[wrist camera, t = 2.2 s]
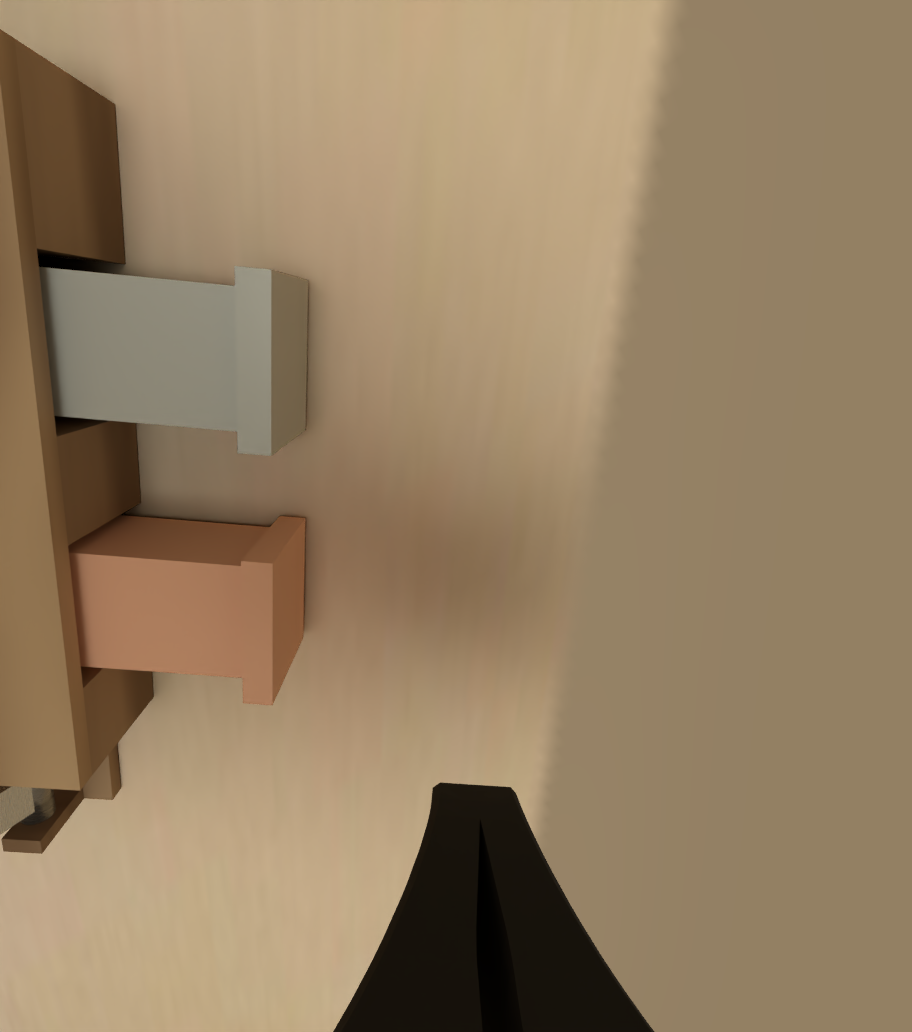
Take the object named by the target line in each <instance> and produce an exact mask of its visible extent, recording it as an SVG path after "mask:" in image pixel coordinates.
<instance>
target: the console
mask: <svg viewBox="0 0 912 1032" xmlns="http://www.w3.org/2000/svg"><path fill="white" fill-rule="evenodd" d="M38 256H48V257H58V258H68V259H78V260H89V261H99V262H109V263H119V264H125V253H124V238H123V223H122V208H121V192H120V177H119V162H118V147H117V131H116V116H115V104H114V103H112V102H111V101H109V100H108V99H106V98H105V97H103V96H101V95H100V94H98V93H97V92H95V91H94V90H92V89H91V88H89V87H88V86H86V85H85V84H83V83H82V82H80V81H79V80H77V79H75V78H74V77H72V76H71V75H69V74H68V73H66V72H65V71H63V70H62V69H60V68H59V67H57V66H56V65H54V64H53V63H51V62H50V61H48V60H46V59H45V58H43V57H42V56H40V55H39V54H37V53H36V52H34V51H33V50H31V49H30V48H28V47H27V46H25V45H24V44H22V43H20V42H19V41H17V40H16V39H14V38H13V37H11V36H10V35H8V34H7V33H5V32H4V31H2V30H1V29H0V786H14V787H30V788H46V789H53V790H54V797H55V805H56V810H55V813H54V814H53V815H52V816H51V817H50V818H49V819H47V820H46V821H44V822H42V823H39V824H35V825H24V824H22V823H21V822H18V823H17V824H15V825H14V826H12V827H11V829H10V830H9V831H8V832H7V833H6V834H5V836H4V837H3V838H2V845H3V851H7V852H24V853H41V854H42V853H43V852H44V850H45V849H46V848H47V846H48V845H49V844H50V842H51V841H52V840H53V838H54V837H55V836H56V834H57V833H58V832H59V831H60V829H61V828H62V827H63V825H64V824H65V823H66V821H67V820H68V819H69V817H70V816H71V815H72V813H73V812H74V811H75V809H76V808H77V807H78V806H79V804H80V803H81V802H82V800H83V799H84V798H89V799H105V800H113V799H114V797H115V796H116V794H117V793H118V791H119V790H120V789H121V782H120V771H119V759H118V748H117V743H118V742H119V740H120V739H121V738H122V737H123V735H124V734H125V733H126V732H127V730H128V729H129V728H130V726H131V725H132V724H133V723H134V721H135V720H136V719H137V717H138V716H139V715H140V714H141V712H142V711H143V710H144V708H145V707H146V706H147V705H148V703H149V702H150V701H151V699H152V698H153V697H154V696H153V681H152V671H139V670H125V669H111V668H97V667H83V666H81V665H80V655H79V646H78V636H77V627H76V617H75V607H74V598H73V588H72V579H71V569H70V560H69V550H68V545H70V544H72V543H73V542H75V541H77V540H78V539H80V538H82V537H84V536H85V535H87V534H89V533H90V532H92V531H94V530H95V529H97V528H99V527H100V526H102V525H104V524H105V523H107V522H109V521H111V520H112V519H114V518H116V517H117V516H119V515H121V514H122V513H124V512H126V511H127V510H129V509H131V508H133V507H134V506H136V505H138V504H139V503H141V498H140V483H139V467H138V452H137V437H136V423H131V422H120V421H108V420H97V419H86V418H74V417H63V416H54V407H53V398H52V388H51V379H50V369H49V360H48V350H47V341H46V331H45V322H44V312H43V303H42V293H41V283H40V274H39V264H38Z"/></svg>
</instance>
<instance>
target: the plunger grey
mask: <svg viewBox="0 0 912 1032" xmlns="http://www.w3.org/2000/svg"><path fill="white" fill-rule="evenodd" d="M39 274H40V283H41V293H42V303H43V312H44V322H45V331H46V341H47V350H48V360H49V369H50V379H51V388H52V398H53V407H54V416H63V417H74V418H86V419H97V420H108V421H120V422H131V423H143V424H154V425H166V426H177V427H189V428H200V429H212V430H223V431H235V432H237V450H238V453H241V454H253V455H264V456H272V455H273V454H274V453H276V452H277V451H278V450H280V449H281V448H282V447H284V446H285V445H286V444H288V443H289V442H290V441H291V440H293V439H294V438H295V437H297V436H298V435H299V434H301V433H302V432H303V431H304V430H306V381H307V326H308V280H305V279H302V278H298V277H295V276H292V275H288V274H285V273H281V272H278V271H275V270H271V269H261V268H251V267H241V266H235V286H231V285H221V284H210V283H200V282H190V281H179V280H169V279H159V278H149V277H138V276H128V275H118V274H107V273H97V272H87V271H76V270H66V269H56V268H45V267H39Z"/></svg>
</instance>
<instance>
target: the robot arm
mask: <svg viewBox="0 0 912 1032" xmlns="http://www.w3.org/2000/svg"><path fill="white" fill-rule="evenodd" d="M333 1032H654V1031H653V1029H652V1028H651V1027H650V1026H649V1024H648V1023H647V1022H646V1020H645V1019H644V1017H643V1016H642V1014H641V1013H640V1012H639V1010H638V1009H637V1008H636V1006H635V1005H634V1003H633V1002H632V1001H631V999H630V998H629V996H628V995H627V993H626V992H625V991H624V989H623V988H622V986H621V985H620V983H619V982H618V980H617V979H616V977H615V976H614V974H613V973H612V971H611V970H610V968H609V967H608V965H607V964H606V962H605V961H604V959H603V958H602V956H601V955H600V953H599V951H598V950H597V948H596V947H595V945H594V943H593V942H592V940H591V938H590V937H589V935H588V934H587V932H586V930H585V929H584V927H583V926H582V924H581V922H580V921H579V919H578V917H577V916H576V914H575V912H574V910H573V909H572V907H571V905H570V903H569V902H568V900H567V898H566V896H565V894H564V892H563V891H562V889H561V887H560V885H559V884H558V882H557V880H556V878H555V876H554V874H553V873H552V871H551V869H550V867H549V865H548V863H547V861H546V859H545V857H544V855H543V853H542V851H541V849H540V847H539V845H538V843H537V841H536V839H535V837H534V835H533V833H532V830H531V828H530V826H529V824H528V822H527V819H526V817H525V815H524V813H523V810H522V808H521V805H520V803H519V800H518V798H517V795H516V793H515V792H514V791H513V790H512V788H511V787H498V786H483V785H468V784H452V783H439V784H438V785H436V786H435V787H433V792H432V803H431V809H430V814H429V819H428V823H427V827H426V830H425V833H424V837H423V840H422V843H421V847H420V850H419V852H418V855H417V858H416V861H415V863H414V866H413V869H412V871H411V874H410V877H409V880H408V882H407V885H406V887H405V890H404V892H403V895H402V897H401V899H400V902H399V904H398V906H397V908H396V911H395V913H394V915H393V917H392V920H391V922H390V924H389V926H388V929H387V931H386V933H385V935H384V938H383V940H382V942H381V944H380V946H379V948H378V950H377V952H376V954H375V956H374V958H373V960H372V962H371V964H370V966H369V968H368V970H367V972H366V974H365V976H364V978H363V979H362V981H361V983H360V985H359V987H358V989H357V991H356V993H355V994H354V996H353V998H352V1000H351V1002H350V1004H349V1005H348V1007H347V1009H346V1011H345V1012H344V1014H343V1016H342V1018H341V1019H340V1021H339V1023H338V1024H337V1026H336V1028H335V1030H334V1031H333Z"/></svg>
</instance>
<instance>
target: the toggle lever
mask: <svg viewBox="0 0 912 1032" xmlns="http://www.w3.org/2000/svg"><path fill="white" fill-rule="evenodd" d="M55 810H56V805H55V797H54V790H53V789H46V788H30V787H14V786H0V834H2V833H3V832H5V831H6V830H8V829H9V828H11V827H12V826H14V825H15V824H17V823H18V822H21V823H22V824H24V825H35V824H39V823H42V822H44V821H46V820H47V819H49V818H50V817H51V816H52V815H53V814H54V813H55Z"/></svg>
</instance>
